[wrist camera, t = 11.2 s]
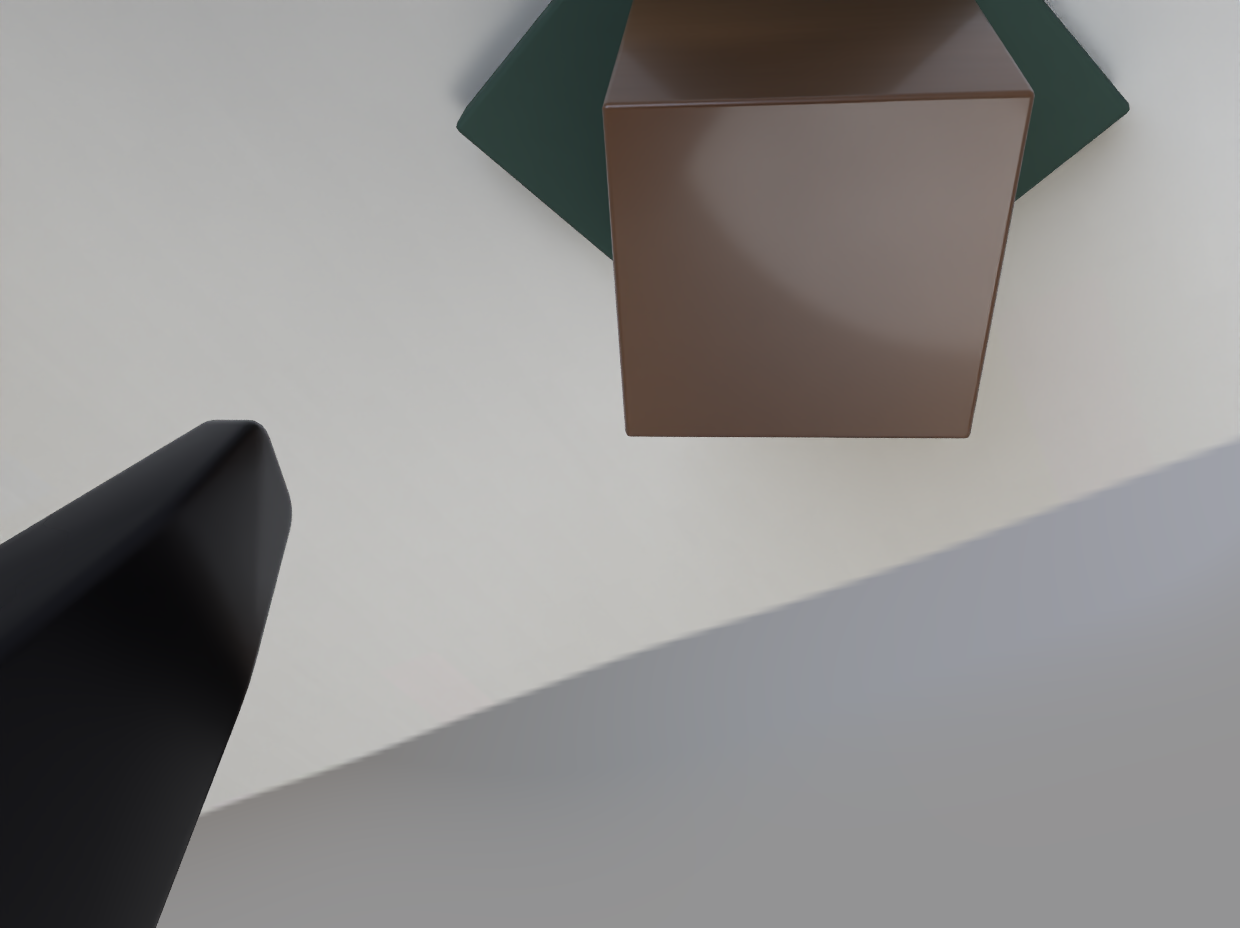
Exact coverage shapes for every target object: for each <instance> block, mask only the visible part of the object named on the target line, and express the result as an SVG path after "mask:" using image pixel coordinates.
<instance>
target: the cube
mask: <svg viewBox="0 0 1240 928" xmlns="http://www.w3.org/2000/svg"><path fill="white" fill-rule="evenodd" d="M1034 97H1035V95H1034V91H1033V89H1032V88H1031V86H1030V85H1029V83H1028V82H1027V80H1026V79H1025V77H1024V75H1023V74H1022V72H1021V71H1020V69H1019V68H1018V66H1017V65H1016V63H1015V62H1014V60H1013V58H1012V57H1011V55H1010V54H1009V52H1008V51H1007V49H1006V48H1005V46H1004V44H1003V43H1002V41H1001V40H1000V38H999V37H998V35H997V34H996V32H995V31H994V29H993V27H992V26H991V24H990V23H989V21H988V20H987V18H986V17H985V15H984V13H983V12H982V10H981V9H980V7H979V6H978V4H977V3H976V1H975V0H633V2H632V6H631V9H630V13H629V16H628V20H627V23H626V27H625V30H624V34H623V37H622V41H621V44H620V48H619V51H618V55H617V58H616V61H615V65H614V68H613V72H612V75H611V79H610V82H609V86H608V89H607V93H606V96H605V100H604V103H603V107H602V115H603V129H604V142H605V156H606V170H607V184H608V198H609V211H610V225H611V239H612V253H613V266H614V280H615V294H616V308H617V322H618V335H619V349H620V363H621V377H622V390H623V404H624V418H625V431H626V433H627V435H628V436H649V437H833V438H967V437H969V435H970V433H971V427H972V422H973V417H974V412H975V406H976V401H977V396H978V391H979V385H980V380H981V375H982V370H983V364H984V359H985V354H986V349H987V343H988V338H989V333H990V328H991V322H992V317H993V312H994V307H995V301H996V296H997V291H998V286H999V280H1000V275H1001V270H1002V265H1003V259H1004V254H1005V249H1006V244H1007V238H1008V233H1009V228H1010V223H1011V217H1012V212H1013V207H1014V202H1015V196H1016V191H1017V186H1018V181H1019V175H1020V170H1021V165H1022V160H1023V154H1024V149H1025V144H1026V139H1027V133H1028V128H1029V123H1030V118H1031V112H1032V107H1033V102H1034Z"/></svg>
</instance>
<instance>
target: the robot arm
mask: <svg viewBox="0 0 1240 928" xmlns="http://www.w3.org/2000/svg"><path fill="white" fill-rule="evenodd" d="M291 519H292V506H291V500H290V496H289V492H288V490H287V487H286V484H285V481H284V478H283V475H282V472H281V469H280V466H279V464H278V461H277V458H276V455H275V452H274V449H273V446H272V443H271V441H270V438H269V436H268V434H267V431H266V430H265V429H264V427H263V426H262V425H261V424H259V423H257V422H255V421H253V420H211V421H207V422H205V423H203V424H201V425H199V426H198V427H196V428H194V429H193V430H191V431H189V432H188V433H186V434H184V435H183V436H181V437H179V438H178V439H176V440H174V441H173V442H171V443H169V444H168V445H166V446H164V447H163V448H161V449H159V450H158V451H156V452H154V453H153V454H151V455H149V456H148V457H146V458H144V459H143V460H141V461H139V462H138V463H136V464H134V465H133V466H131V467H129V468H128V469H126V470H124V471H123V472H121V473H119V474H118V475H116V476H114V477H112V478H111V479H109V480H107V481H106V482H104V483H102V484H101V485H99V486H97V487H96V488H94V489H92V490H91V491H89V492H87V493H86V494H84V495H82V496H81V497H79V498H77V499H76V500H74V501H72V502H71V503H69V504H67V505H66V506H64V507H62V508H61V509H59V510H57V511H56V512H54V513H52V514H51V515H49V516H47V517H46V518H44V519H42V520H41V521H39V522H37V523H36V524H34V525H32V526H31V527H29V528H27V529H26V530H24V531H22V532H21V533H19V534H17V535H16V536H14V537H12V538H11V539H9V540H7V541H6V542H4V543H2V544H1V545H0V928H156V926H157V923H158V920H159V918H160V915H161V913H162V910H163V908H164V905H165V902H166V900H167V897H168V895H169V892H170V890H171V887H172V884H173V882H174V879H175V876H176V874H177V871H178V869H179V866H180V864H181V861H182V859H183V856H184V853H185V851H186V848H187V846H188V843H189V841H190V838H191V835H192V832H193V830H194V827H195V825H196V822H197V820H198V817H199V815H200V812H201V810H202V807H203V804H204V802H205V799H206V797H207V794H208V791H209V789H210V786H211V784H212V781H213V778H214V776H215V773H216V771H217V768H218V766H219V763H220V760H221V758H222V755H223V753H224V750H225V747H226V745H227V742H228V740H229V737H230V735H231V732H232V729H233V727H234V724H235V722H236V719H237V716H238V714H239V711H240V708H241V706H242V703H243V700H244V697H245V694H246V692H247V689H248V686H249V683H250V679H251V676H252V672H253V669H254V666H255V662H256V659H257V655H258V651H259V647H260V643H261V639H262V635H263V632H264V628H265V624H266V620H267V616H268V612H269V608H270V605H271V601H272V597H273V593H274V589H275V585H276V581H277V577H278V574H279V570H280V566H281V562H282V558H283V554H284V550H285V546H286V543H287V539H288V535H289V531H290V526H291Z"/></svg>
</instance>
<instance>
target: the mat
mask: <svg viewBox="0 0 1240 928" xmlns="http://www.w3.org/2000/svg"><path fill="white" fill-rule="evenodd" d="M975 1H976V3H977V4H978V6H979V7H980V9H981V10H982V12H983V13H984V15H985V17H986V18H987V20H988V21H989V23H990V24H991V26H992V27H993V29H994V31H995V32H996V34H997V35H998V37H999V38H1000V40H1001V41H1002V43H1003V44H1004V46H1005V48H1006V49H1007V51H1008V52H1009V54H1010V55H1011V57H1012V58H1013V60H1014V62H1015V63H1016V65H1017V66H1018V68H1019V69H1020V71H1021V72H1022V74H1023V75H1024V77H1025V79H1026V80H1027V82H1028V83H1029V85H1030V86H1031V88H1032V89H1033V91H1034V95H1035V97H1034V102H1033V107H1032V112H1031V118H1030V123H1029V128H1028V133H1027V139H1026V144H1025V149H1024V154H1023V160H1022V165H1021V170H1020V175H1019V181H1018V186H1017V191H1016V196H1015V201H1016V200H1017V199H1019V198H1020V197H1021V196H1022V195H1024V194H1025V193H1026V192H1027V191H1029V190H1030V189H1031V188H1033V187H1034V186H1035V185H1036V184H1038V183H1039V182H1040V181H1041V180H1043V179H1044V178H1045V177H1046V176H1048V175H1049V174H1050V173H1052V172H1053V171H1054V170H1055V169H1057V168H1058V167H1059V166H1060V165H1062V164H1063V163H1064V162H1065V161H1067V160H1068V159H1069V158H1071V157H1072V156H1073V155H1074V154H1076V153H1077V152H1078V151H1079V150H1081V149H1082V148H1083V147H1085V146H1086V145H1087V144H1088V143H1090V142H1091V141H1092V140H1093V139H1095V138H1096V137H1097V136H1098V135H1100V134H1101V133H1102V132H1104V131H1105V130H1106V129H1107V128H1109V127H1110V126H1111V125H1112V124H1114V123H1115V122H1116V121H1117V120H1119V119H1120V118H1121V117H1123V116H1124V115H1125V114H1126V113H1127V112H1128V111H1129V109H1130V108H1129V103H1128V102H1127V101H1126V100H1125V99H1124V97H1123V96H1122V95H1121V94H1120V92H1119V91H1118V90H1117V89H1116V88H1115V86H1114V85H1113V84H1112V83H1111V82H1110V80H1109V79H1108V78H1107V77H1106V76H1105V74H1104V73H1103V72H1102V71H1101V69H1100V68H1099V67H1098V66H1097V65H1096V63H1095V62H1094V61H1093V60H1092V59H1091V57H1090V56H1089V55H1088V54H1087V52H1086V51H1085V50H1084V49H1083V48H1082V46H1081V45H1080V44H1079V43H1078V42H1077V40H1076V39H1075V38H1074V37H1073V35H1072V34H1071V33H1070V32H1069V31H1068V29H1067V28H1066V27H1065V26H1064V25H1063V23H1062V22H1061V21H1060V20H1059V19H1058V17H1057V16H1056V15H1055V14H1054V12H1053V11H1052V10H1051V9H1050V8H1049V6H1048V5H1047V4H1046V3H1045V2H1044V0H975ZM632 2H633V0H552V1H551V3H550V4H549V5H548V6H547V8H546V9H545V10H544V11H543V13H542V14H541V15H540V16H539V18H538V19H537V20H536V21H535V23H534V24H533V25H532V26H531V27H530V29H529V30H528V31H527V32H526V34H525V35H524V36H523V37H522V39H521V40H520V41H519V42H518V44H517V45H516V46H515V47H514V49H513V50H512V51H511V52H510V54H509V55H508V56H507V57H506V59H505V60H504V61H503V62H502V64H501V65H500V66H499V67H498V69H497V70H496V71H495V72H494V74H493V75H492V76H491V77H490V79H489V80H488V81H487V82H486V84H485V85H484V86H483V87H482V88H481V90H480V91H479V92H478V93H477V95H476V96H475V97H474V98H473V100H472V101H471V102H470V103H469V105H468V106H467V107H466V109H465V110H464V112H463V114H462V115H461V117H460V119H459V121H458V122H457V129H458V131H459V132H460V133H462V134H463V135H464V136H465V137H466V138H467V139H469V140H470V141H471V142H472V143H473V144H475V145H476V146H477V147H478V148H479V149H481V150H482V151H483V152H484V153H485V154H487V155H488V156H489V157H490V158H491V159H492V160H494V161H495V162H496V163H497V164H498V165H500V166H501V167H502V168H503V169H504V170H506V171H507V172H508V173H509V174H510V175H512V176H513V177H514V178H515V179H516V180H517V181H519V182H520V183H521V184H522V185H523V186H525V187H526V188H527V189H528V190H529V191H531V192H532V193H533V194H534V195H535V196H536V197H538V198H539V199H540V200H541V201H542V202H544V203H545V204H546V205H547V206H548V207H550V208H551V209H552V210H553V211H554V212H556V213H557V214H558V215H559V216H560V217H561V218H563V219H564V220H565V221H566V222H567V223H569V224H570V225H571V226H572V227H573V228H575V229H576V230H577V231H578V232H579V233H581V234H582V235H583V236H584V237H585V238H586V239H588V240H589V241H590V242H591V243H592V244H594V245H595V246H596V247H597V248H598V249H600V250H601V251H602V252H603V253H604V254H605V255H607V256H608V257H609V258H610V259H611V260H613V253H612V239H611V225H610V211H609V198H608V184H607V170H606V156H605V142H604V129H603V115H602V107H603V103H604V100H605V96H606V93H607V89H608V86H609V82H610V79H611V75H612V72H613V68H614V65H615V61H616V58H617V55H618V51H619V48H620V44H621V41H622V37H623V34H624V30H625V27H626V23H627V20H628V16H629V13H630V9H631V6H632Z"/></svg>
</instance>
